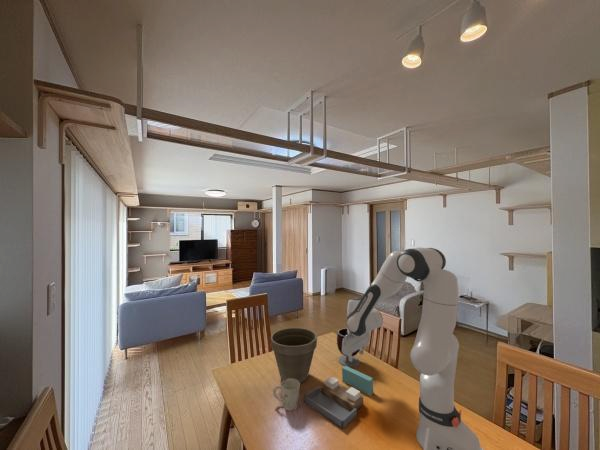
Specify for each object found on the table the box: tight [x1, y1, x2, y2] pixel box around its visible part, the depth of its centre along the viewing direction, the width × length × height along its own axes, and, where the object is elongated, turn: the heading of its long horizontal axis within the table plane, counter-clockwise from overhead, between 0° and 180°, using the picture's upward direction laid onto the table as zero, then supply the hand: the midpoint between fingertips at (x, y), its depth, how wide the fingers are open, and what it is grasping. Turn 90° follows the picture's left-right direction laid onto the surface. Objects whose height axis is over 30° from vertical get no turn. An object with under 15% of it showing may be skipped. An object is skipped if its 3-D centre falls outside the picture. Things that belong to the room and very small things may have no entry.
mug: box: [272, 378, 301, 412], centre depth 112 cm, size 8×13×10 cm, turn 78°
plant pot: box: [270, 327, 318, 384], centre depth 135 cm, size 25×25×22 cm
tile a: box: [346, 386, 361, 402], centre depth 112 cm, size 4×4×2 cm
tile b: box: [324, 376, 340, 389], centre depth 121 cm, size 4×4×2 cm
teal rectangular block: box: [341, 366, 374, 396], centre depth 125 cm, size 16×3×7 cm, turn 44°
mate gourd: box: [336, 327, 360, 368], centre depth 149 cm, size 16×14×20 cm
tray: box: [303, 385, 358, 430], centre depth 110 cm, size 22×10×3 cm, turn 44°
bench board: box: [320, 383, 364, 411], centre depth 116 cm, size 18×8×4 cm, turn 44°
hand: (356, 357), depth 126 cm, fingers open, 8 cm apart
